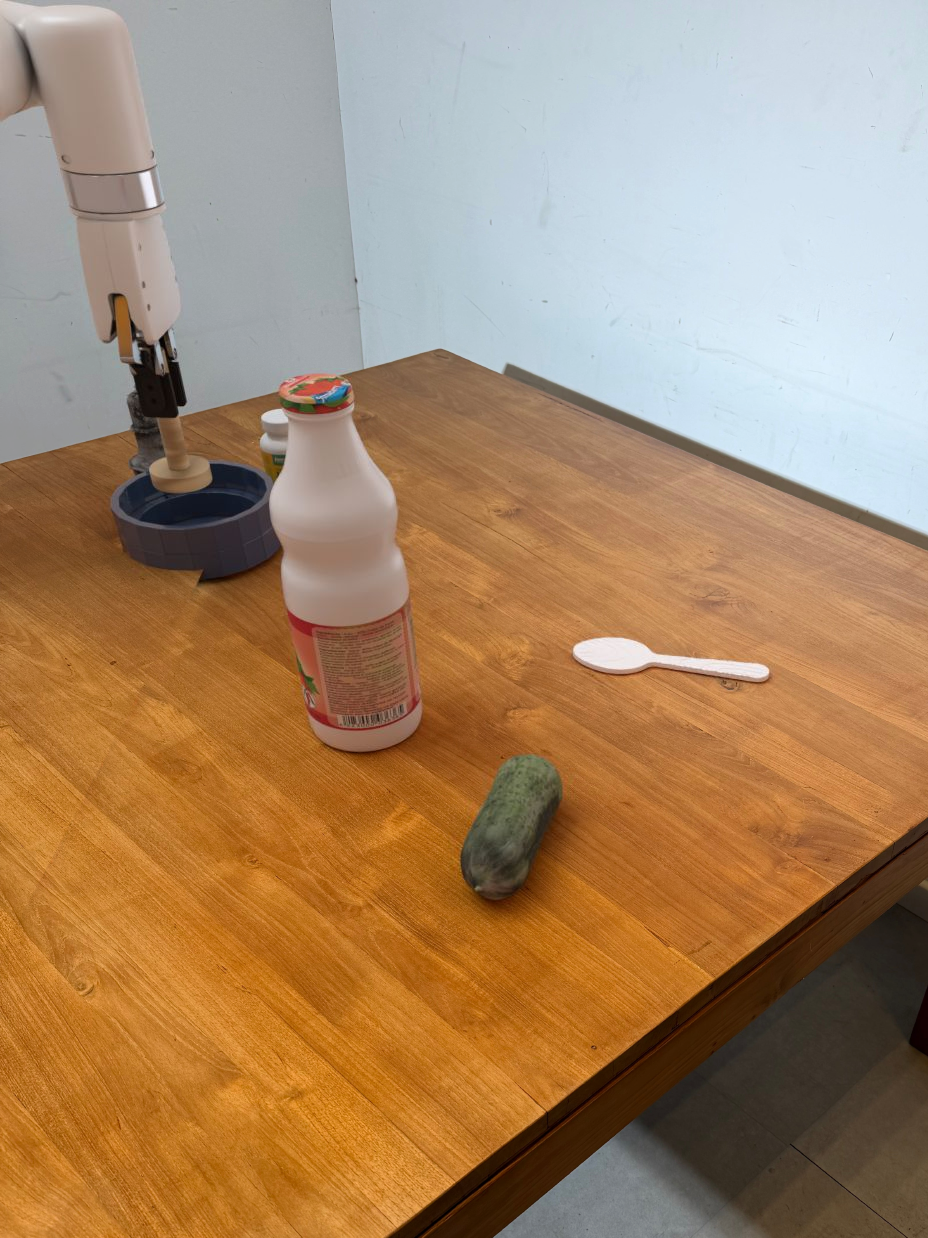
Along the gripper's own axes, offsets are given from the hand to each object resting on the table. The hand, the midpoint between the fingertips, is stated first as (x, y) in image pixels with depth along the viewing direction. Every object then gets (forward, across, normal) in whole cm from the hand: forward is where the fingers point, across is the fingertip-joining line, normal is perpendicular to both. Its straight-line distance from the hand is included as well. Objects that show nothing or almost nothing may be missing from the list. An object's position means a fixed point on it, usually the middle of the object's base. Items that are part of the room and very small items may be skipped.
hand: (165, 409), depth 106 cm
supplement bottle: (+15, -12, +8) cm, 21 cm away
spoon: (+14, +20, +48) cm, 53 cm away
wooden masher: (+7, 0, 0) cm, 7 cm away
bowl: (+15, -1, +1) cm, 15 cm away
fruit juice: (+15, +29, +22) cm, 39 cm away
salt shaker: (+15, -14, -8) cm, 22 cm away
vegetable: (+15, +45, +35) cm, 59 cm away
